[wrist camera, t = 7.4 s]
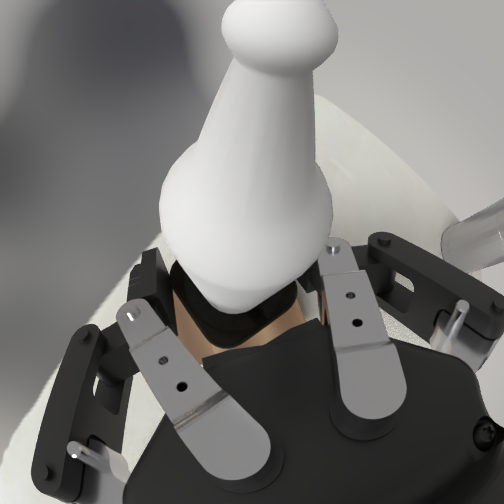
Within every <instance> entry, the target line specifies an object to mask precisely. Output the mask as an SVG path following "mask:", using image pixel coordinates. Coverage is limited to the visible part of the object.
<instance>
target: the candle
mask: <svg viewBox="0 0 504 504" xmlns="http://www.w3.org/2000/svg"><path fill="white" fill-rule="evenodd" d="M221 31H222V34H223V36H224V39H225V41H226V44H227V46H228V48H229V49H230V51H231V53H232V54H233V56H234V58H233V60H232V62H231V64H230V66H229V68H228V71H227V73H226V75H225V77H224V79H223V82H222V84H221V86H220V88H219V90H218V93H217V95H216V97H215V100H214V102H213V104H212V107H211V109H210V111H209V114H208V116H207V119H206V121H205V124H204V126H203V129H202V131H201V134H200V137H199V139H198V141H197V142H195V143H194V144H192V145H191V146H190V147H189V148H188V149H187V150H186V151H185V152H184V153H183V154H182V155H181V156H180V158H179V159H178V160H177V161H176V162H175V163H174V164H173V165H172V167H171V169H170V171H169V173H168V175H167V177H166V179H165V181H164V183H163V186H162V192H161V197H160V203H159V212H160V221H161V229H162V233H163V235H164V237H165V240H166V242H167V244H168V246H169V249H170V251H171V253H172V254H173V255H174V257H175V258H176V259H177V260H176V261H175V262H174V264H173V265H172V267H171V270H170V281H171V284H172V288H173V291H174V292H175V294H176V295H177V297H178V298H179V300H180V302H181V303H182V305H183V306H184V308H185V309H186V311H187V312H188V314H189V315H190V317H191V318H192V319H193V321H194V322H195V324H196V325H197V327H198V328H199V330H200V331H201V332H202V334H203V335H204V337H205V338H206V339H207V340H208V341H209V342H210V343H211V344H212V345H214V346H216V347H219V348H222V349H231V348H236V347H238V346H239V345H241V344H243V343H244V342H246V341H247V340H249V339H250V338H251V337H253V336H254V335H256V334H257V333H258V332H260V331H261V330H262V329H264V328H265V327H267V326H268V325H269V324H271V323H272V322H273V321H275V320H276V319H277V318H279V317H280V316H281V315H283V314H284V313H285V312H287V311H288V310H289V309H290V308H291V307H292V306H293V304H294V303H295V301H296V297H297V285H296V282H295V279H297V278H298V277H300V276H301V275H302V274H303V273H304V272H305V271H306V270H307V269H308V268H309V267H310V266H311V265H312V264H313V263H314V262H315V261H316V260H317V259H318V257H319V255H320V254H321V252H322V250H323V248H324V246H325V244H326V242H327V240H328V238H329V234H330V229H331V224H332V219H333V207H332V196H331V193H330V190H329V187H328V185H327V182H326V180H325V177H324V175H323V173H322V171H321V169H320V167H319V166H318V164H317V163H316V162H315V112H314V90H313V72H312V71H313V70H314V69H315V68H317V67H318V66H319V65H321V64H322V63H323V62H324V61H325V60H326V59H327V58H328V57H329V56H330V55H331V54H332V53H333V52H334V50H335V48H336V45H337V42H338V27H337V25H336V23H335V21H334V19H333V17H332V15H331V13H330V11H329V10H328V8H327V7H326V5H325V3H324V2H323V1H322V0H235V1H234V2H233V3H232V4H231V5H230V6H229V7H228V8H227V11H226V12H225V14H224V16H223V19H222V29H221Z"/></svg>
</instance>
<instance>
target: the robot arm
mask: <svg viewBox="0 0 504 504" xmlns="http://www.w3.org/2000/svg"><path fill="white" fill-rule="evenodd" d="M441 249H442V254H443V258H444V260H445V261H444V260H442V259H440V258H438V257H437V256H435V255H433V254H431V253H429V252H427V251H425V250H423V249H422V248H420V247H418V246H416V245H414V244H412V243H410V242H408V241H406V240H404V239H402V238H400V237H398V236H396V235H394V234H391V233H388V232H376V233H373V234H371V235H370V236H369V238H368V245H363V246H355V247H351V246H350V244H349V243H348V242H347V241H346V240H344V239H341V238H328V240H327V242H326V244H325V246H324V248H323V250H322V252H321V254H320V255H319V257H318V259H317V260H316V261H315V262H314V263H313V264H312V265H311V266H310V267H309V268H308V269H307V270H306V271H305V272H304V273H303V274H302V275H301V276H300V277H298V278H297V280H298V282H299V283H300V284H301V286H302V287H303V288H304V290H305V291H306V292H307V293H309V292H312V291H315V290H316V291H317V292H318V307H319V315H320V321H319V319H318V318H315V319H313V320H310V321H308V322H305V323H303V324H300V325H298V326H295V327H292V328H290V329H288V330H287V331H285V332H284V333H282V334H281V335H279V336H277V337H276V338H274V339H273V340H271V341H269V342H268V343H266V344H264V345H260V346H253V347H245V348H237V349H230V350H227V351H224V352H220V353H217V354H214V355H211V356H207V357H204V358H202V363H203V368H202V367H201V365H200V364H199V363H198V362H197V361H196V360H195V358H194V357H193V356H192V355H191V354H190V353H189V351H188V350H187V349H186V348H185V346H184V345H183V344H182V343H181V342H180V340H179V339H178V338H177V337H176V336H178V330H177V323H176V315H175V306H174V297H173V288H172V284H171V281H170V276H169V274H168V271H167V269H166V266H165V264H164V261H163V259H162V256H161V254H160V251H159V249H158V248H157V247H156V248H153V249H150V250H147V251H144V252H142V260H141V264H137V265H135V266H134V268H133V269H132V271H131V272H130V278H129V280H130V281H129V287H128V294H127V303H125V304H124V305H123V306H121V307H120V309H119V310H118V312H117V314H116V320H117V322H115V323H114V324H112V325H111V326H109V327H107V328H105V329H103V330H102V331H100V329H99V328H98V326H96V325H95V324H88V325H85V326H83V327H81V328H79V329H78V330H77V331H76V332H75V333H74V335H73V336H72V338H71V341H70V343H69V345H68V348H67V350H66V353H65V355H64V358H63V360H62V363H61V365H60V368H59V371H58V373H57V376H56V379H55V382H54V385H53V388H52V391H51V394H50V397H49V400H48V403H47V406H46V409H45V413H44V416H43V420H42V423H41V427H40V431H39V435H38V439H37V443H36V448H35V452H34V457H33V462H32V468H31V477H32V481H33V483H34V485H35V487H36V488H37V489H38V490H39V491H40V492H41V493H44V494H46V495H48V496H51V497H53V498H56V499H58V500H60V501H61V502H64V503H66V504H504V428H503V427H501V426H500V425H498V424H497V423H495V422H494V421H493V420H492V419H491V417H490V416H489V414H488V412H487V410H486V407H485V405H484V402H483V399H482V395H481V391H480V386H479V382H478V379H477V377H476V375H475V373H476V372H477V371H478V370H479V369H480V368H481V367H482V365H483V364H484V363H485V361H486V360H487V358H488V356H489V355H490V354H491V352H492V351H493V349H494V348H495V346H496V344H497V343H498V341H499V339H500V338H501V336H502V335H503V333H504V296H503V295H501V294H499V293H498V292H497V291H495V290H494V289H492V288H490V287H489V286H487V285H485V284H484V283H482V282H480V281H479V280H477V279H475V278H474V277H472V276H470V275H469V274H467V273H470V272H473V271H477V270H480V269H483V268H486V267H489V266H492V265H495V264H498V263H501V262H504V198H503V199H501V200H499V201H498V202H496V203H494V204H492V205H491V206H489V207H487V208H485V209H483V210H482V211H480V212H478V213H477V214H474V215H473V216H471V217H469V218H467V219H465V220H463V221H461V222H459V223H458V224H456V225H454V226H452V227H450V228H448V229H447V230H446V231H445V232H444V233H443V236H442V241H441ZM396 272H398V273H400V274H401V275H403V276H405V277H406V278H408V279H409V280H410V281H411V282H412V283H413V286H414V293H413V292H412V291H410V290H409V289H407V288H406V287H404V286H402V285H401V284H399V283H398V282H396V281H395V276H396ZM379 307H380V308H381V309H383V310H384V311H385V312H387V313H388V314H390V315H391V316H392V317H394V318H395V319H396V320H398V321H399V322H401V323H402V324H403V325H405V326H406V327H407V328H409V329H410V330H412V331H413V332H414V333H416V334H417V335H418V336H420V337H421V338H422V339H424V340H425V341H426V342H428V343H429V344H430V346H431V348H432V349H428V348H425V347H421V346H417V345H414V344H411V343H407V342H404V341H400V340H397V339H393V338H390V337H388V334H387V331H386V328H385V325H384V322H383V318H382V315H381V312H380V309H379ZM138 372H141V373H142V375H143V377H144V379H145V380H146V382H147V384H148V385H149V387H150V389H151V390H152V392H153V394H154V395H155V397H156V399H157V400H158V402H159V403H160V405H161V407H162V408H163V410H164V411H165V415H164V416H163V418H162V420H161V422H160V423H159V425H158V427H157V429H156V431H155V432H154V434H153V436H152V438H151V439H150V441H149V443H148V445H147V447H146V448H145V450H144V452H143V454H142V455H141V457H140V459H139V461H138V462H137V464H136V466H135V468H134V470H133V471H132V473H130V471H129V470H128V464H127V462H126V460H125V458H124V457H123V456H122V455H121V452H122V444H123V436H124V429H125V422H126V415H127V409H128V403H129V397H130V391H131V386H132V381H133V375H134V374H136V373H138ZM96 376H97V377H98V378H99V381H98V385H97V388H96V392H95V396H94V394H93V385H94V382H95V378H96Z"/></svg>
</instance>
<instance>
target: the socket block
mask: <svg viewBox="0 0 504 504" xmlns="http://www.w3.org/2000/svg"><path fill="white" fill-rule="evenodd" d="M173 297H174V306H175V315H176V323H177V330H178V336H176V337H177V338H178V339H179V340H180V342H181V343H182V344H183V345H184V346H185V348H186V349H187V350H188V351H189V353H190V354H191V355H192V356H193V357H194V358H195V360H196V361H197V362H198V363H199V364H200V365H201V364H203V363H202V358H204V357H207V356H211V355H214V354H217V353H220V352H224V351H227V350H230V349H222V348H219V347H216V346H214V345H212V344H211V343H210V342H209V341H208V340H207V339H206V338H205V337H204V335H203V334H202V332H201V331H200V330H199V328H198V327H197V325H196V324H195V322H194V321H193V319H192V318H191V317H190V315H189V314H188V312H187V311H186V309H185V308H184V306H183V305H182V303H181V302H180V300H179V298H178V297H177V295H176V294H175V292H174V291H173ZM303 323H305V319H304V316H303V314H302V311H301V308H300V305H299V302H298V300H297V297H296V301H295V303H294V304H293V306H292V307H291V308H290V309H289V310H288V311H287V312H285V313H284V314H283V315H281V316H280V317H279V318H277V319H276V320H275V321H273V322H272V323H271V324H269V325H268V326H267V327H265V328H264V329H262V330H261V331H260V332H258V333H257V334H256V335H254V336H253V337H251V338H250V339H249V340H247V341H246V342H244V343H243V344H241V345H239V346H238V347H236V348H231V349H237V348H245V347H253V346H260V345H263V344H265V343H268V342H269V341H271V340H273V339H274V338H276V337H277V336H279V335H281V334H282V333H284V332H285V331H287V330H288V329H290V328H292V327H295V326H298V325H300V324H303Z"/></svg>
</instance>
